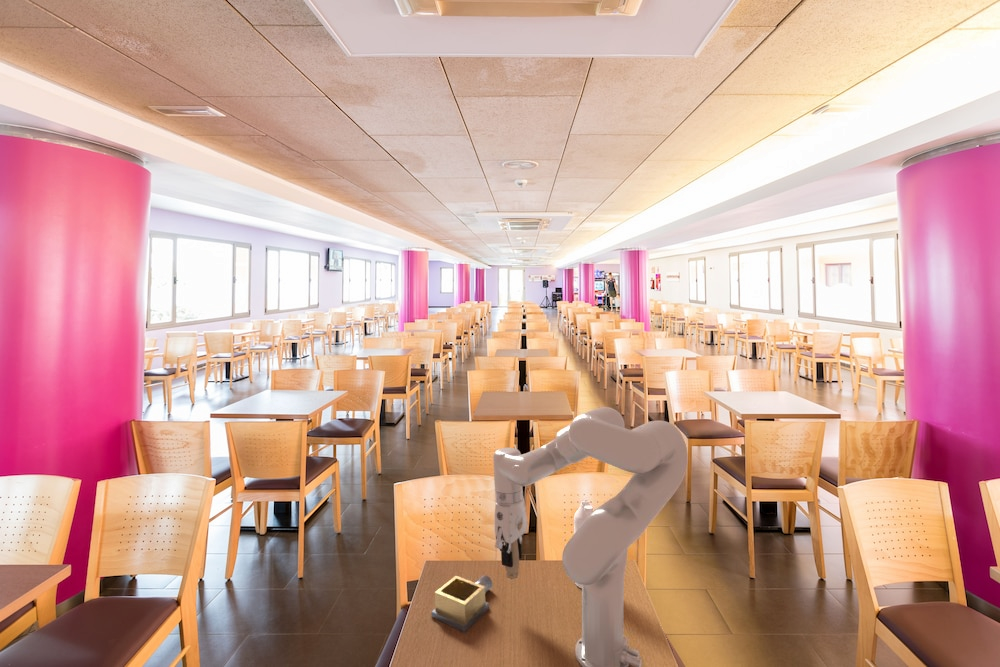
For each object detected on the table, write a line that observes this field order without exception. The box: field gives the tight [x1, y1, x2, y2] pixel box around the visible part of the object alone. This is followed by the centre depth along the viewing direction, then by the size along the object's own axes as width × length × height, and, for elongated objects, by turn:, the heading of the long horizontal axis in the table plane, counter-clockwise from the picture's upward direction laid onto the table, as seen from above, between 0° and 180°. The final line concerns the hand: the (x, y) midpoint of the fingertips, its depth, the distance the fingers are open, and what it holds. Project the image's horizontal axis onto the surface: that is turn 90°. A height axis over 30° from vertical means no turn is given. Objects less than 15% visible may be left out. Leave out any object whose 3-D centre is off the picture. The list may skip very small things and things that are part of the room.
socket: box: [431, 574, 493, 633], centre depth 130 cm, size 11×18×6 cm, turn 147°
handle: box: [504, 522, 522, 580], centre depth 128 cm, size 5×6×15 cm
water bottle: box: [573, 499, 594, 589], centre depth 138 cm, size 9×6×25 cm
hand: (511, 560), depth 128 cm, fingers closed on handle, 4 cm apart
